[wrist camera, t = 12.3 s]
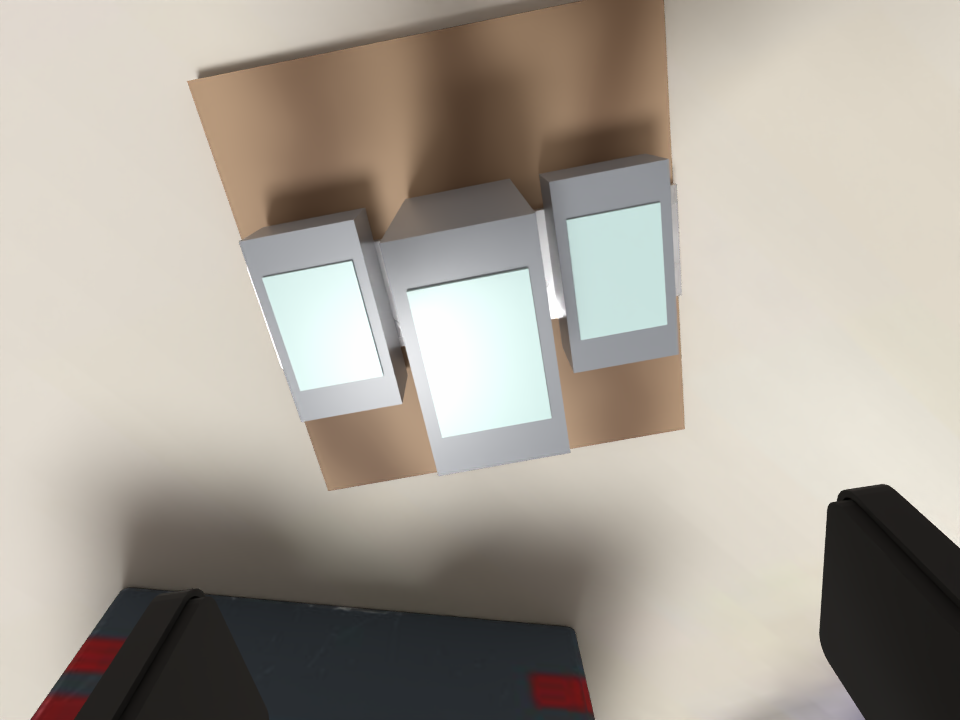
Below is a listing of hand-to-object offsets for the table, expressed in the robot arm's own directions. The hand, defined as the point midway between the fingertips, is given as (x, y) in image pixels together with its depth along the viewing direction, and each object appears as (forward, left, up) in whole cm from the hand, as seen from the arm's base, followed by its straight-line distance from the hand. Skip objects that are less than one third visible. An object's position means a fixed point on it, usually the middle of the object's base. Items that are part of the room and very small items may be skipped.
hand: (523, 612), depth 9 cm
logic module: (0, 0, -19) cm, 19 cm away
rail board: (+1, 0, -20) cm, 20 cm away
